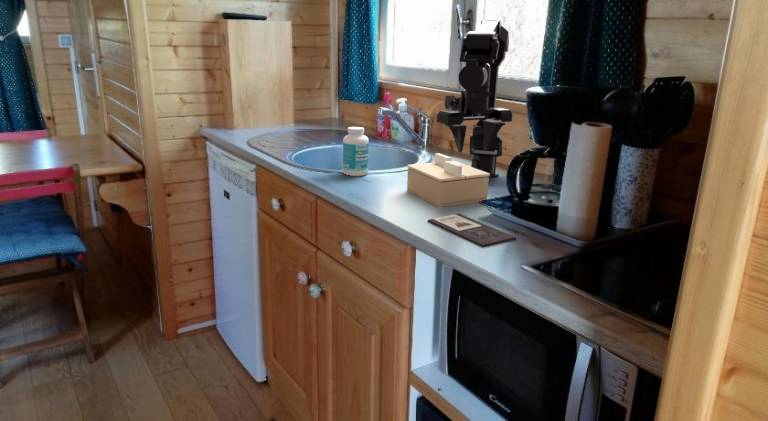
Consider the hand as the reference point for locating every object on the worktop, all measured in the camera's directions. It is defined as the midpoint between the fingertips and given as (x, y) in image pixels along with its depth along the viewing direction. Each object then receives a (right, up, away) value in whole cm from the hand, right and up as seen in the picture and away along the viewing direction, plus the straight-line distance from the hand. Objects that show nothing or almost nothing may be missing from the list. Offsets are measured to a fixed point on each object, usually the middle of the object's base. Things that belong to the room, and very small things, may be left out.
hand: (472, 151), depth 143 cm
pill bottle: (-30, -4, +26) cm, 40 cm away
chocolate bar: (-4, -19, -20) cm, 28 cm away
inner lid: (-3, -4, +5) cm, 7 cm away
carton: (-6, -11, +5) cm, 13 cm away
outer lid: (-9, -5, +2) cm, 11 cm away
